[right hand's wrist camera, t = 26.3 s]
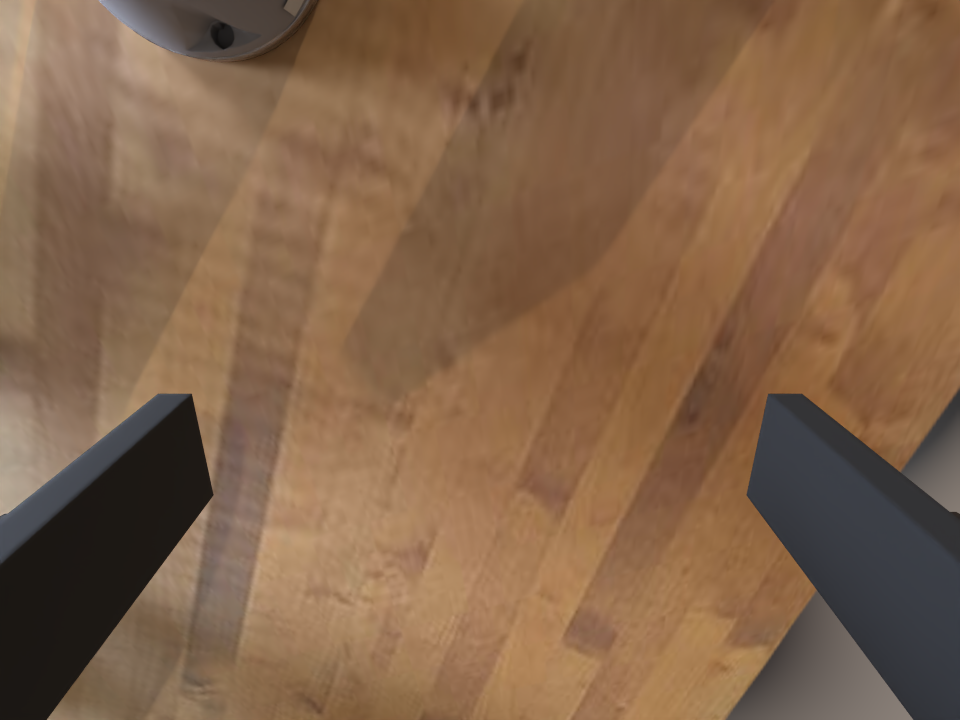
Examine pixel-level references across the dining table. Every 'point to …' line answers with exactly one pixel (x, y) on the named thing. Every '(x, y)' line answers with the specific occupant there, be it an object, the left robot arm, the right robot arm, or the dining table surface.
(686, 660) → the dining table surface
